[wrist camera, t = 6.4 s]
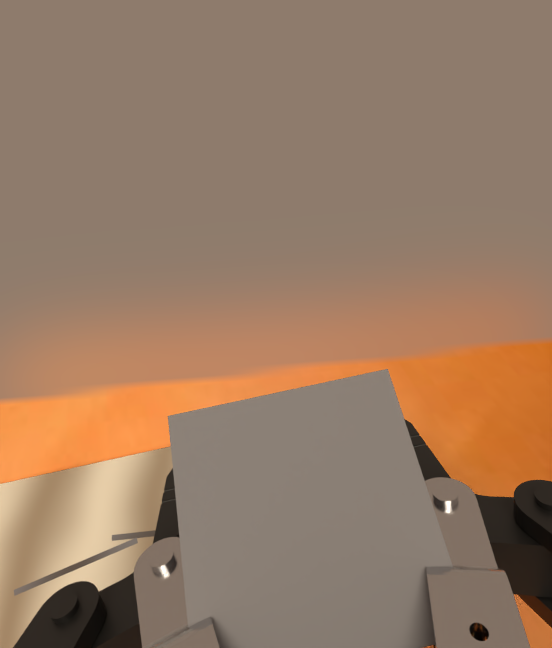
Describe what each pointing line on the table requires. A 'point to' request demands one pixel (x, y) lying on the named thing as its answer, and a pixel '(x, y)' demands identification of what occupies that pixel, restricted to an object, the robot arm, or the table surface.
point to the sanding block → (306, 519)
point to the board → (75, 531)
